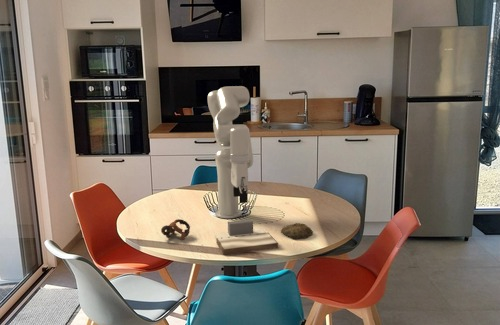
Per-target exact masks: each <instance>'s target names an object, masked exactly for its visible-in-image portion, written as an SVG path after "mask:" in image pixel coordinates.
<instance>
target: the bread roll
mask: <svg viewBox="0 0 500 325" xmlns="http://www.w3.org/2000/svg"><path fill="white" fill-rule="evenodd" d="M280 233H281V234H282V235H283V236H285V237H287V238H288V239H289V238H290V239H292V240H303V239H307V238H310V237H311V236H312V235H313V233H314V231H313V230H312V229H311V227H309V226H308V225H306V224H304V223H300V222H296V223H292V224H288V225H286V226H283V227H282V228H281V230H280Z"/></svg>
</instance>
